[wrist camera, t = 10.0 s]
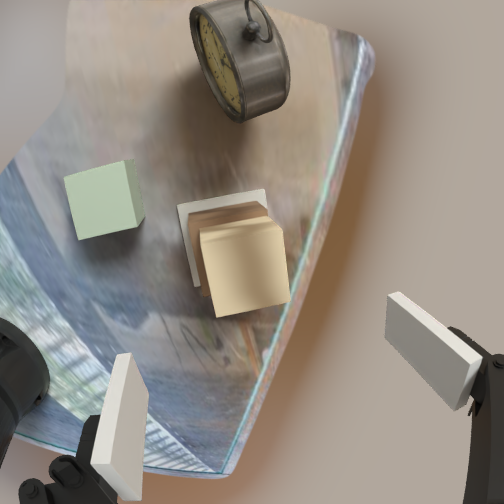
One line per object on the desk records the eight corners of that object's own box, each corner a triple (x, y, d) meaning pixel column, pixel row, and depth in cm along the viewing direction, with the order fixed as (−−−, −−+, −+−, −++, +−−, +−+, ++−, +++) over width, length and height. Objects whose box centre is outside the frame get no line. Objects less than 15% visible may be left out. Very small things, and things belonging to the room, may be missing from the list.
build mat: (194, 284, 35) (194, 287, 34) (177, 204, 32) (176, 205, 31) (274, 268, 36) (275, 270, 36) (263, 188, 33) (264, 189, 33)
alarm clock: (186, 39, 27) (183, -44, 12) (235, 23, 27) (269, -63, 12) (227, 130, 31) (258, 111, 15) (276, 111, 31) (346, 82, 16)
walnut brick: (201, 276, 34) (203, 297, 30) (188, 213, 32) (187, 224, 27) (265, 264, 35) (276, 282, 30) (256, 200, 33) (267, 209, 28)
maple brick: (212, 291, 30) (216, 317, 25) (199, 228, 28) (200, 245, 23) (275, 278, 30) (290, 301, 26) (267, 215, 28) (282, 229, 24)
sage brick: (93, 227, 31) (78, 240, 27) (81, 172, 29) (63, 177, 25) (145, 215, 32) (137, 226, 27) (134, 159, 30) (123, 160, 25)
